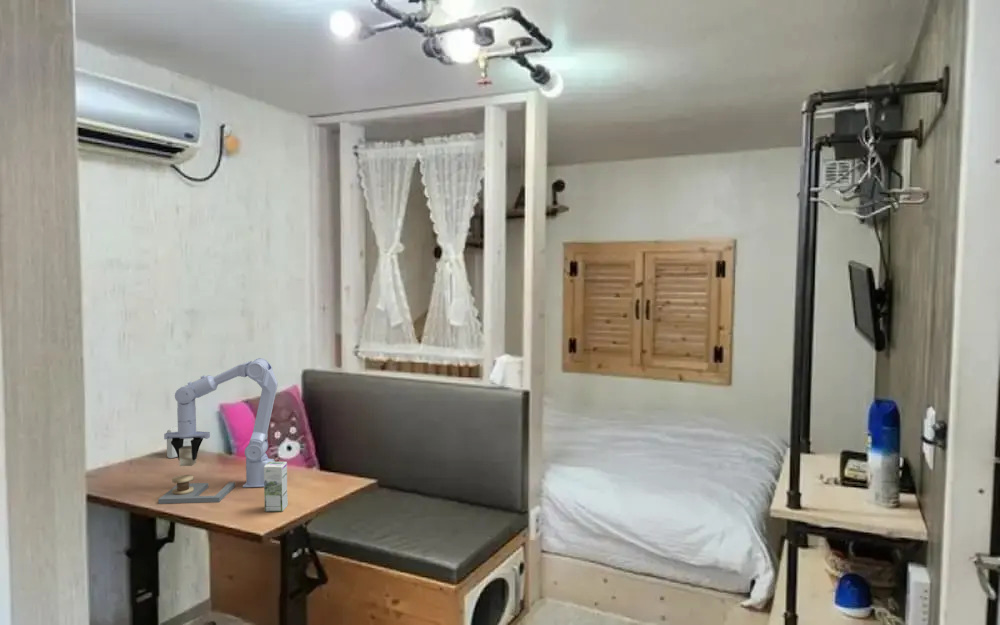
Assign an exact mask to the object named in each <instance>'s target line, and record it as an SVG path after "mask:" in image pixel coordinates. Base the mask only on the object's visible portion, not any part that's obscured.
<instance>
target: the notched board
mask: <svg viewBox="0 0 1000 625" xmlns="http://www.w3.org/2000/svg"><path fill="white" fill-rule="evenodd" d="M189 486H191V487H193V488H194V491H193V492H191V493H188V494H184V495H174V494H172V490H173V489H175V488H177V484H176V485H175V486H173V487H172V488H171V489H169V490H168V491H167V492H165V494H163V495H162V496H160V497H159V498H158V499H157V501H158V504H159V505H160V504H161V505H163V504H165V505H167V504H197V503H198V504H199V503H203V504H204V503H220V502H221V501H222V500H223V499H224V498H225V497H226V496H227V495H228V494H229V493H231V491H232V490H233V489H234V488H235V487H236V482H235V481H230V482H229V481H228V483H227V484H226V485H225V486H223V488H222V489H221V490H219V491H218V492H217V493H216V494H215V495H201V494H203V492H205V491H206V490H207V489H208V488H209V483H208V482H193V483H191V482H189Z"/></svg>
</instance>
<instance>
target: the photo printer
mask: <svg viewBox="0 0 1000 625" xmlns="http://www.w3.org/2000/svg"><path fill="white" fill-rule="evenodd" d="M171 432H178V425H177V426H173V427H172V428H169V429H168V430H167V431H166V433H171ZM191 440H193V438H190V439H184V441H183V446H191ZM171 441H172V439H166V455H167V458H168V459H173V458H178V456H177V453H176V450H175V448H174V447H173V445H172V444H171Z"/></svg>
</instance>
